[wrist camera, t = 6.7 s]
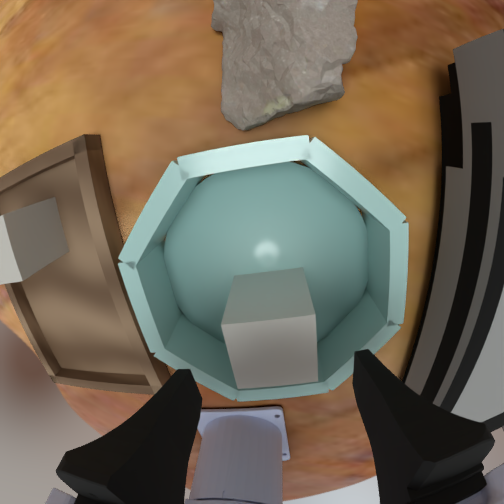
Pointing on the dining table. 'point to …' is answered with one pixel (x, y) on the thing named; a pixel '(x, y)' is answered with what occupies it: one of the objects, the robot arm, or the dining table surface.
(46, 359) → the tray
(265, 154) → the bowl
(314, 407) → the dining table surface
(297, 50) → the concrete fragment
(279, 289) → the stone
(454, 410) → the game console
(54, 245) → the stone
